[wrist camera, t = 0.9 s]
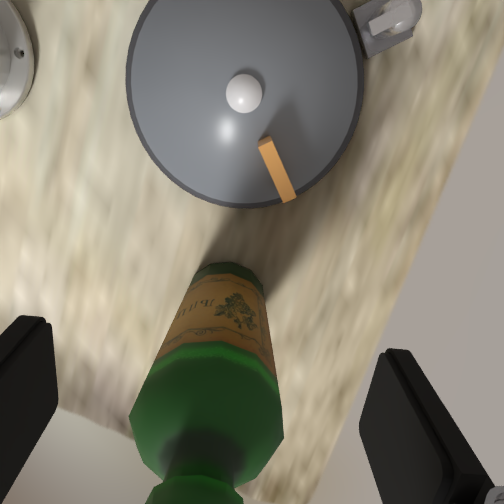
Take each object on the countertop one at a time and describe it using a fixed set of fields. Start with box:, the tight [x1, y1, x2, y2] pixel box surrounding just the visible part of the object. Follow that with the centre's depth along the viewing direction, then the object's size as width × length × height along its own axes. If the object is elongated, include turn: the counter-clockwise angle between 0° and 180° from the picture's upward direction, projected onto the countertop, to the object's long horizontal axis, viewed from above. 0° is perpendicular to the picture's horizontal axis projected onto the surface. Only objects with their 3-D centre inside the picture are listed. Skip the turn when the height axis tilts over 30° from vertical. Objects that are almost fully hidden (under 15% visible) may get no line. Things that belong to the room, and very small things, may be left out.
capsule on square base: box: [351, 0, 422, 59], centre depth 31 cm, size 5×4×6 cm
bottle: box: [129, 262, 284, 504], centre depth 31 cm, size 11×11×28 cm
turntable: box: [131, 0, 358, 203], centre depth 32 cm, size 19×19×6 cm
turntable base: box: [126, 0, 364, 208], centre depth 35 cm, size 21×21×2 cm
